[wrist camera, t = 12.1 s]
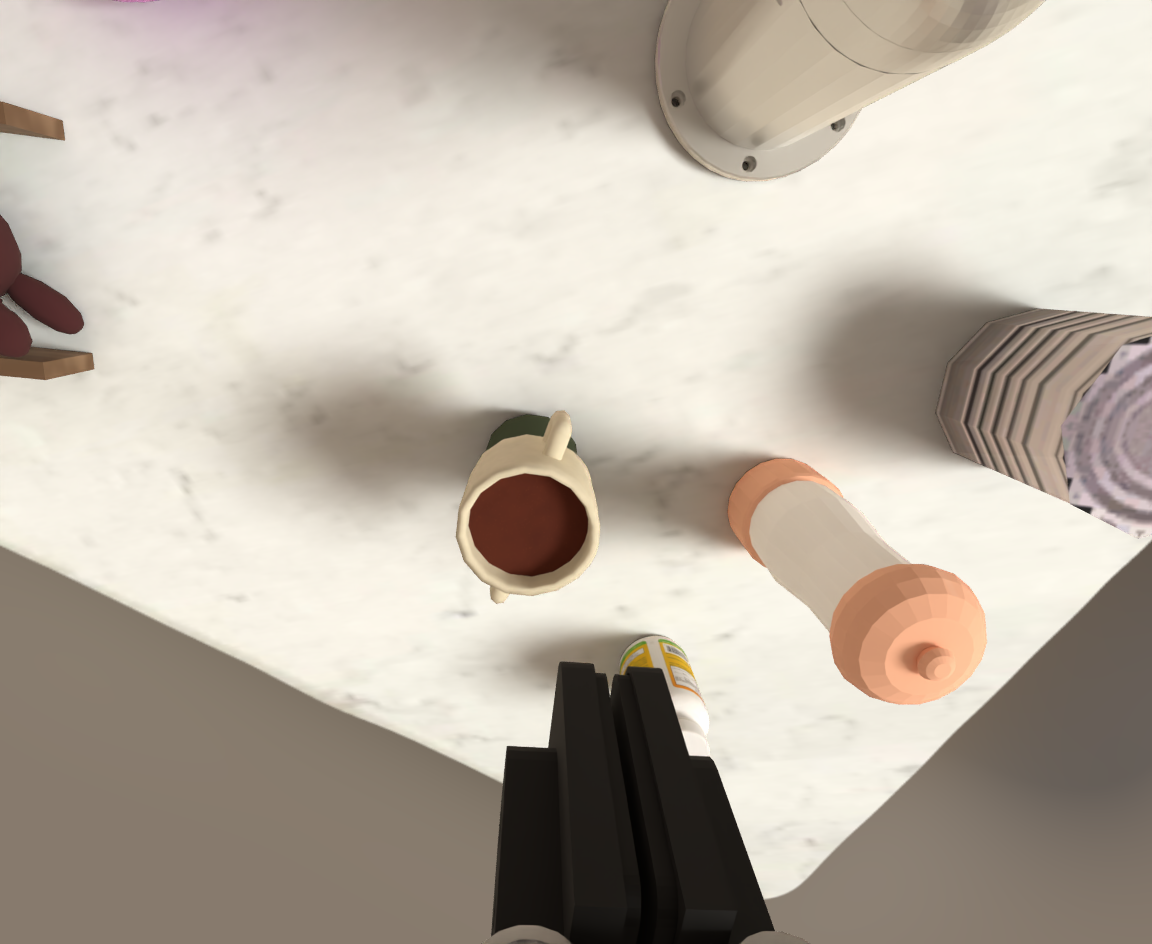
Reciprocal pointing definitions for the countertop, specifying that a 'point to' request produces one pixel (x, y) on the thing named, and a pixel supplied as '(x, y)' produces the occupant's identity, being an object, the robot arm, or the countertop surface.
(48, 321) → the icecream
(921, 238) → the countertop surface
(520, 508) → the character mug
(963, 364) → the can
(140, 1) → the teapot
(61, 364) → the frame
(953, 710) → the countertop surface
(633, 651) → the supplement bottle
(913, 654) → the salt shaker
